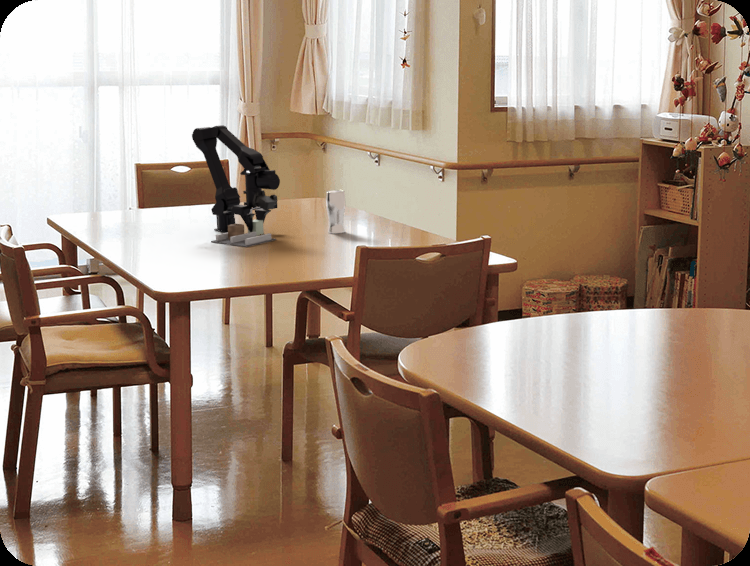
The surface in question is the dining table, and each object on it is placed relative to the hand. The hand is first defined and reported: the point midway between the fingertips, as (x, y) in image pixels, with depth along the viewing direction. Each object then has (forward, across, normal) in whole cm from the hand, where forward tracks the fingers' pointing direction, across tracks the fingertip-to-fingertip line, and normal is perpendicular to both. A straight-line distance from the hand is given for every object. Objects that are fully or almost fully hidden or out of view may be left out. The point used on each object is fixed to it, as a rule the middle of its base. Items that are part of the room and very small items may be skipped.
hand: (255, 230), depth 344 cm
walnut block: (+1, -12, -2) cm, 12 cm away
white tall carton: (+1, +18, -23) cm, 29 cm away
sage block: (+1, 0, 0) cm, 1 cm away
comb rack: (+1, -12, -6) cm, 13 cm away
